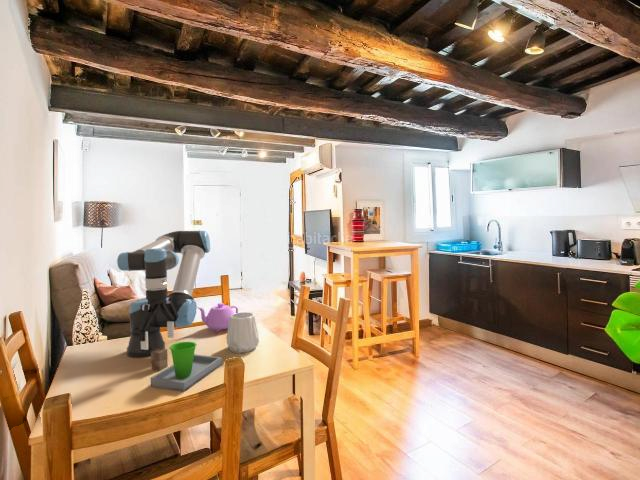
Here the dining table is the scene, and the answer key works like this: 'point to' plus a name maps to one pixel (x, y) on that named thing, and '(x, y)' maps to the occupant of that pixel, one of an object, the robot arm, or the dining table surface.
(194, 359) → the tray
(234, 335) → the vase
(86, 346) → the dining table surface
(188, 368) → the cup
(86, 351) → the dining table surface
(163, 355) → the walnut block
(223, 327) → the teapot
